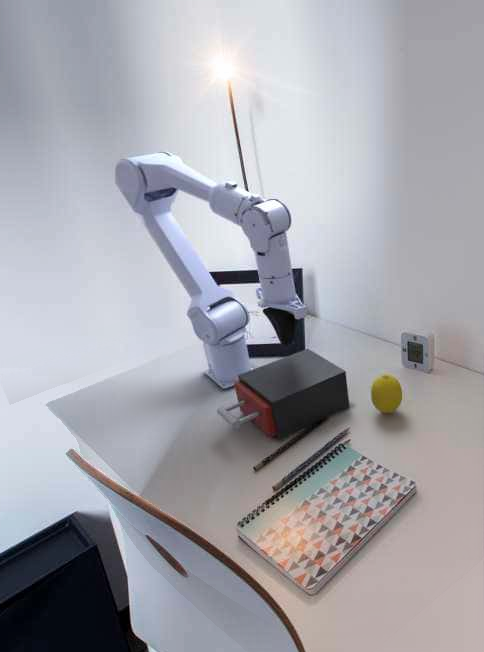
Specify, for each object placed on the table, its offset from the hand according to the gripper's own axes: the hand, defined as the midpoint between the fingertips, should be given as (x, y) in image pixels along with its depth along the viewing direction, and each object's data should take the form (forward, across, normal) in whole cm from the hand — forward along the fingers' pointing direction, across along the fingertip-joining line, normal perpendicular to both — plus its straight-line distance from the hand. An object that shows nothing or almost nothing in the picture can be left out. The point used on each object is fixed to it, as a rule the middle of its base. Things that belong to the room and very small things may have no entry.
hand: (287, 343), depth 99 cm
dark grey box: (+10, +6, -3) cm, 12 cm away
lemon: (+11, +19, +8) cm, 23 cm away
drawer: (+9, +6, -7) cm, 13 cm away
